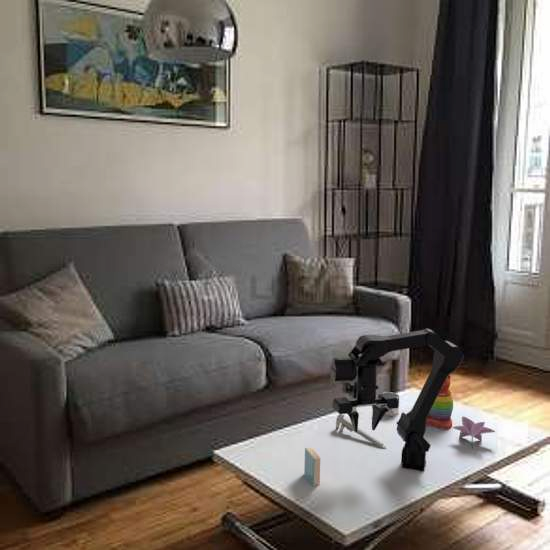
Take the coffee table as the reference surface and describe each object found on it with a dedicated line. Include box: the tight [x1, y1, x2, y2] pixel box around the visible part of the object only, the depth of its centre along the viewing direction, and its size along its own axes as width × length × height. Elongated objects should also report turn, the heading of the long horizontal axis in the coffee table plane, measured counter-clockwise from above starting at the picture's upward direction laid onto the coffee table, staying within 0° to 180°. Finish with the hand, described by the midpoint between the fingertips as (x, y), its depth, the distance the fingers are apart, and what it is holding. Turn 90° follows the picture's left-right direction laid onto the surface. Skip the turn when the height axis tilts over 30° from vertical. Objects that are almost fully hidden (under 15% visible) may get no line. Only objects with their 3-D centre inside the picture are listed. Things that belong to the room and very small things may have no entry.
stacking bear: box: [426, 374, 454, 430], centre depth 219 cm, size 11×10×18 cm
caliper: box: [335, 413, 387, 450], centre depth 206 cm, size 20×1×6 cm, turn 44°
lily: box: [451, 416, 496, 450], centre depth 203 cm, size 12×12×10 cm
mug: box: [381, 391, 400, 417], centre depth 229 cm, size 10×7×7 cm
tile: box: [303, 446, 321, 487], centre depth 178 cm, size 2×7×8 cm, turn 17°
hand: (364, 430), depth 183 cm, fingers open, 5 cm apart
